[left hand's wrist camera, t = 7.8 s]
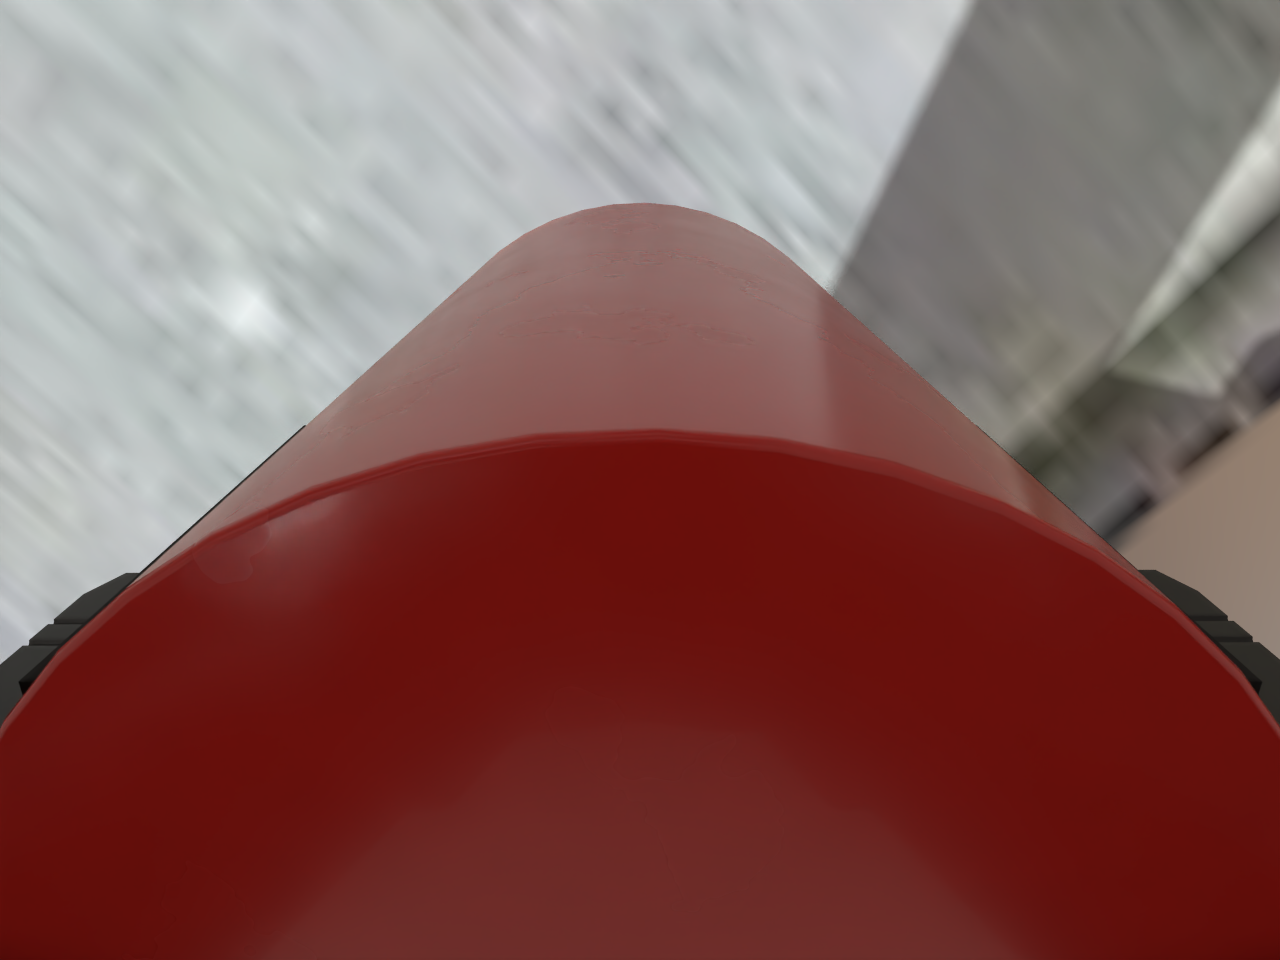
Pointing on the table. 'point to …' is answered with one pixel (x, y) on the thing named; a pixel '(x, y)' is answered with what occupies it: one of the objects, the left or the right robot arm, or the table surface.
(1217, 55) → the table surface
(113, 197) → the table surface
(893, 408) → the tin
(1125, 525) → the table surface
